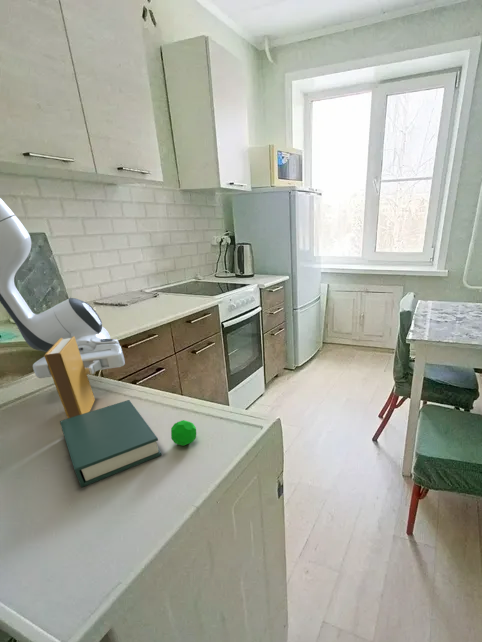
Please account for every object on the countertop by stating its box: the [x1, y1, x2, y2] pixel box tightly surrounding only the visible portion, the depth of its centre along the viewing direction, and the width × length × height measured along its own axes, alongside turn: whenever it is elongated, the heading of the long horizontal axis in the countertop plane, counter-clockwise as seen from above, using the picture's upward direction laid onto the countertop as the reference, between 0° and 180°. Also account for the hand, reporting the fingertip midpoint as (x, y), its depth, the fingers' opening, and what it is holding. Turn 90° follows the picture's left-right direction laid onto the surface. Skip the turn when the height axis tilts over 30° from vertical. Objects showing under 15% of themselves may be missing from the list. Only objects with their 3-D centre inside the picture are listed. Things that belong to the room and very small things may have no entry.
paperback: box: [43, 336, 96, 419], centre depth 81 cm, size 12×3×17 cm, turn 17°
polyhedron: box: [170, 419, 197, 447], centre depth 70 cm, size 5×5×5 cm
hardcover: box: [59, 399, 162, 488], centre depth 71 cm, size 20×14×4 cm
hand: (74, 373), depth 83 cm, fingers open, 5 cm apart
